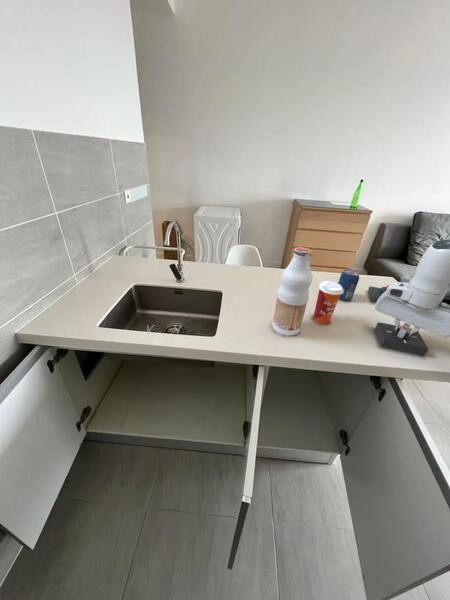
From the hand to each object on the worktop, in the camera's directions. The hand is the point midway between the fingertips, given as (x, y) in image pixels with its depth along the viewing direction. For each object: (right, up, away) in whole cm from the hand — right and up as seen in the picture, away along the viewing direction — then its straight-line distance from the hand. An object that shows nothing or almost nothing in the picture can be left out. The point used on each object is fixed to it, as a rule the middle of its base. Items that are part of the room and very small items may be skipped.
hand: (402, 332), depth 78 cm
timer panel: (0, -3, +2) cm, 4 cm away
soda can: (-7, +11, +25) cm, 28 cm away
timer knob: (0, -1, 0) cm, 1 cm away
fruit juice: (-36, +1, +6) cm, 37 cm away
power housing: (+12, +11, +26) cm, 30 cm away
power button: (+12, +14, +24) cm, 30 cm away
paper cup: (-22, +3, +11) cm, 25 cm away
